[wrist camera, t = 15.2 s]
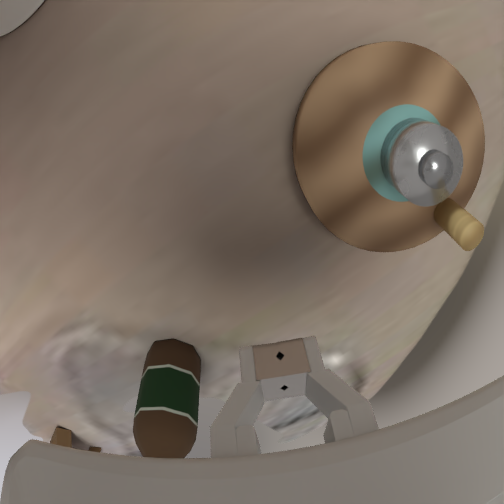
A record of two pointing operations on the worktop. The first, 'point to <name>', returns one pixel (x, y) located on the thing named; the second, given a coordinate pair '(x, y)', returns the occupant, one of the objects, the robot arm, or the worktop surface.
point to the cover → (422, 161)
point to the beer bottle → (168, 401)
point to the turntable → (371, 140)
